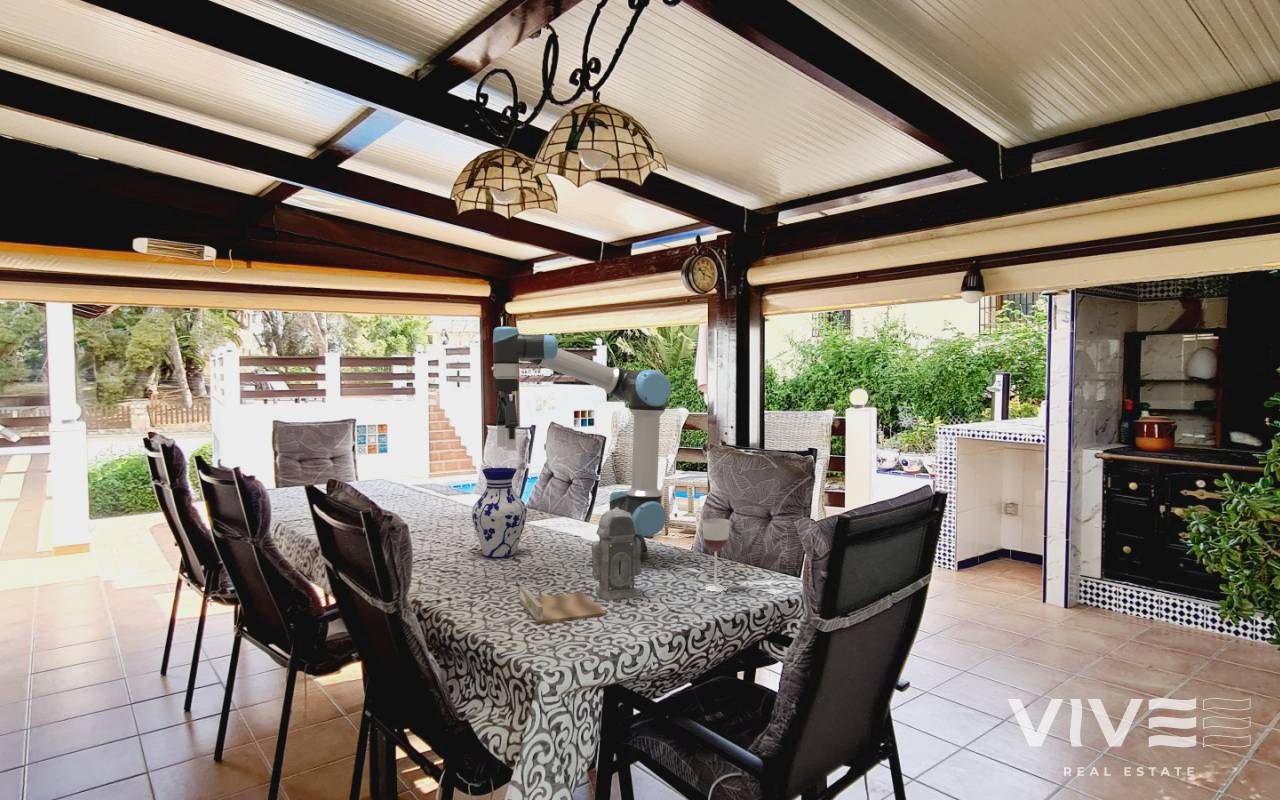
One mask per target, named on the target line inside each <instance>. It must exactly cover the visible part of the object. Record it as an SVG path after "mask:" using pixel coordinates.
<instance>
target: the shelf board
mask: <svg viewBox="0 0 1280 800" xmlns="http://www.w3.org/2000/svg"><path fill="white" fill-rule="evenodd" d="M519 602H520V605H522V606H523V608H524V609H525V610H526V611H527V613H528V614H529V615H530V616H531V617H532V619H533V620H534V621H535V623H536V624H537V625H543V624H551V623H558V622H566V621H574V620H576V621H577V620H581V619H583V620H584V619H590V618H598V617H605V616H606V617H607V612H606V611H605V610H604V609H603V608H601V606H599V605H598V604H597V603H596V602H595V601H593V600H592V599H591V598H590V597H589V596H588V595H587V594H585V593H584V592H583V591H582V592H571V593H562V594H554V595H544V596H543V595H542V596H536V597H535V596H534V595H533V594H532V593H531V592H530V591H529V590H528V588H527V587H526V586H524V585H521V586H519Z"/></svg>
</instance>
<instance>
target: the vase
mask: <svg viewBox="0 0 1280 800" xmlns="http://www.w3.org/2000/svg"><path fill="white" fill-rule="evenodd" d="M481 471H482V474H483V475H484V477H485V480H486V488H485V490H484V492H483V493H482V495H481V496H480V497H479V499H477V500H476V502H475V503H474V505H473V506H472V509H471V517H472V518H471V520H472V523H473V526H474V529H475V532H476V536H477V540H478V542H479V545H480V547H481V550H482V551H481V552H482V554H483V557H485V558H488V559H507V558H511V557H514V556H516V553H517V550H518V547H519V543H520V541H521V538H522V534H523V532H524V531H523V530H524V528H525V524H526V520H527V517H528V516H527V515H528V510H527V506H526V503H525V502H524V501H523V500H522V499H521V498H520V496H519V495H518V494H517V493H516V492H515V490H514V488H513V479H514V476H515V475H516V472H517V468H514V467H513V468H512V467H489V468H483V469H481Z"/></svg>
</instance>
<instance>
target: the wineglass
mask: <svg viewBox="0 0 1280 800" xmlns="http://www.w3.org/2000/svg"><path fill="white" fill-rule="evenodd" d="M701 522H702V523H701V525H702V527H701V528H702V536H703V538H702V539H703V542H704V543H705V545H706V546H707V547H708V548H709V549H711V550H712V551H713V552H714V553H713V554H714V559H713V561H714V563H713V565H714V566H713V567H714V568H713V569H714V573H713V575H714V578H713V579H714V580H713V583H714V584H713V585H714V586H713V585H707V586H708V587H706V586H705V587H706V589H707V590H710V591H720V592H721V591H723V590H724V589H725V588H724V587H725V586H723V587H722V585H718V551H719V550H721V549H723V548H724V547H725V546H726V544H727V543H728V541H729V537H730V520H729V519H727V518H715V517H714V518H711V517H710V518H705V519H702V520H701ZM721 593H722V592H721Z"/></svg>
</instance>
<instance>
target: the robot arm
mask: <svg viewBox="0 0 1280 800" xmlns="http://www.w3.org/2000/svg"><path fill="white" fill-rule="evenodd" d="M492 334H493V337H492V351H493V354H492V355H493V358H492V359H493V366H492V367H491V371H493V377H494V379H493V381H492V382H493V383H492V384H493V387H492V388H493V389H492V390H493V391H494V392H500V393H497V395H496V396H497V403H496V412H495V413H496V414H495V423H496V441H497V442H496V445H497V446H496V447H498V448H502V447H506V449H505V450H506V451H508V452H509V451H510V452H511V451H517V427H518V425H519V423H518V416H517V414H518V413H517V406H516V394H513V392H518V391H519V390H520V389H519V388H520V386H519V385H520V384H519V381H520V380H519V379H518V378H519V377H520V376H519V374H520V371H519V369H520V368H519V367H520V365H519V364H520V363H519V361H520V362H521V361H522V362H528V363H531V364H534V365H537V366H540V367H543V368H546V369H548V370H551V371H554V372H557V373H559V374H563V375H565V376H567V377H571V378H573V379H576V380H577V381H582V382H584V383H587V384H590V385H593V386H596V387H598V388H601V389H603V390H604V391H605V393H606V394H608V395H612V396H614V397H616V398H618V399H620V400H622V401H625V402H627V403H629V411H630V412H631V414H632V415H633V427H632V428H633V429H632V430H633V431H632V456H631V457H632V458H631V459H632V461H631V485H630V486H631V487H630V488H629V490H623V491H621V490H620V491H613V492H611V493H610V494H609V510H613V509H614V508H615V507H618V508H619V509H621V510H624V511H626V512H629V513H631V515H632V517H633V520H634V527H635V529H636V532H637V534H636V535H634V537H636V538H638V539H639V540H640V541H641V554H640V562H642V561H645V560H646V559H648V558H649V549H648V545H647V542H646V539H645V537H652V536H656V535H657V534H659V533H660V532H661V530H663V528H664V527H665V525H666V522H667V517H668V516H667V511H666V509H665V507H664V506H663V505H662V496H663V495H662V493H661V492H660V490H659V489H658V480H659V479H658V476H659V475H658V474H659V473H658V472H659V449H660V446H659V445H660V423H661V422H660V421H661V419H660V418H661V416H662V415H663V414H664V413H665V410H666V403H667V401H668V400H669V399H670V397H671V395H672V394H671V393H672V385H671V382H670V380H669V378H668V377H667V375H665V374H664V372H662V371H659V370H656V369H650V368H649V369H638V370H637V369H636V370H633V369H624V368H621V367H619V366H614V367H610V366H607V365H604V364H602V363H600V362H596V361H594V360H591V359H588V358H586V357H583V356H580V355H578V354H575V353H573V352H570V351H566V350H565V349H563V348H559V344H558V339H557V337H556V336H555V335H553V334H551V335H550V334H524V333H520V332H519V328H518V327H517V326H516V327H515V326H497V327H495V328H494V329H493V333H492Z"/></svg>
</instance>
